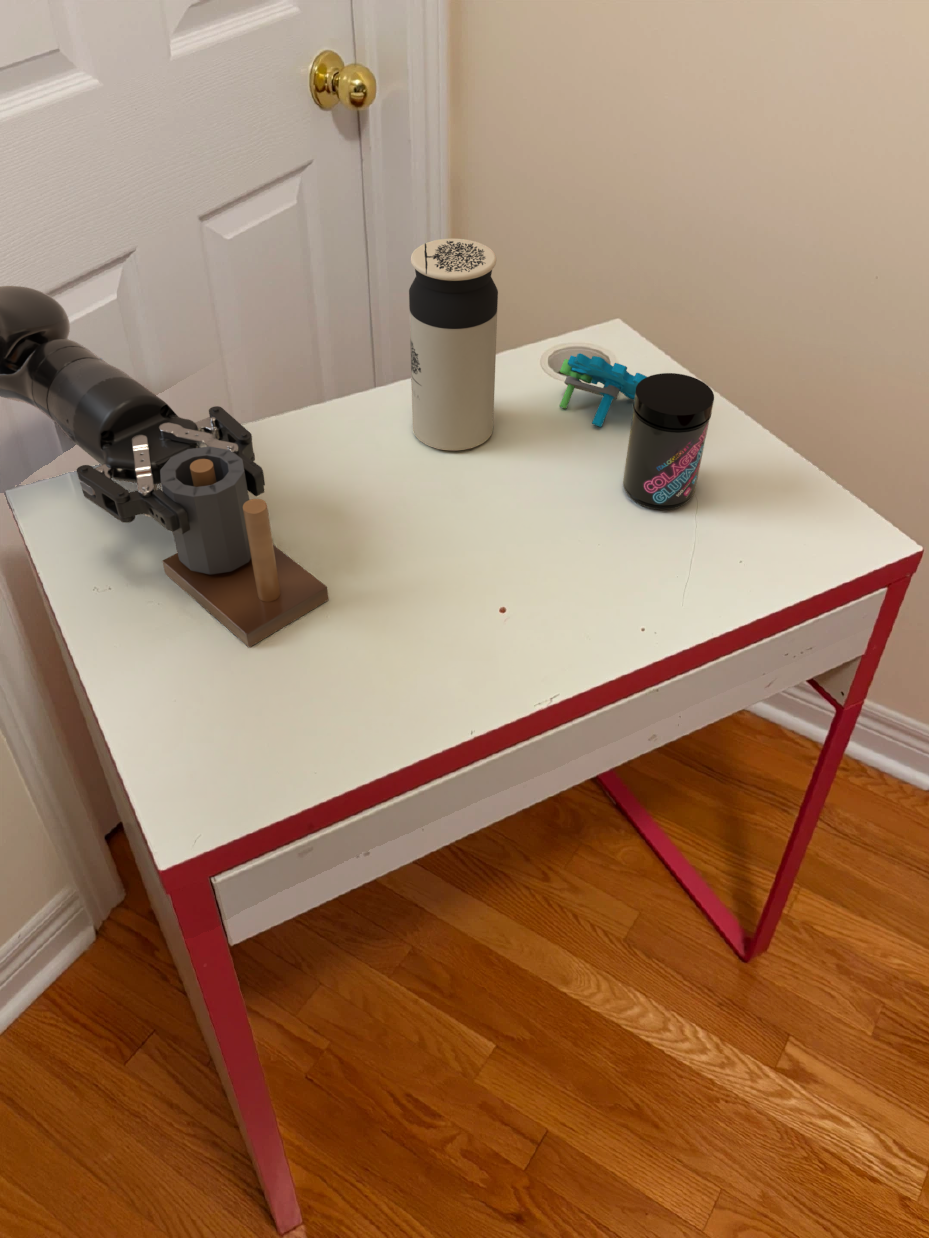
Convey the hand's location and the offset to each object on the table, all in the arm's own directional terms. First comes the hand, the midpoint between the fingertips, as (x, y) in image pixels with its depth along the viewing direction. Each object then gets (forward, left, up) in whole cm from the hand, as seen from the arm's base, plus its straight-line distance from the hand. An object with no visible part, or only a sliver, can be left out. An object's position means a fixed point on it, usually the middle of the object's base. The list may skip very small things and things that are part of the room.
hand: (223, 503), depth 82 cm
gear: (+34, -25, -8) cm, 43 cm away
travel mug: (+26, -11, -8) cm, 30 cm away
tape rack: (-1, -1, -8) cm, 8 cm away
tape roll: (+1, +2, -6) cm, 6 cm away
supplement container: (+22, -32, -8) cm, 40 cm away
